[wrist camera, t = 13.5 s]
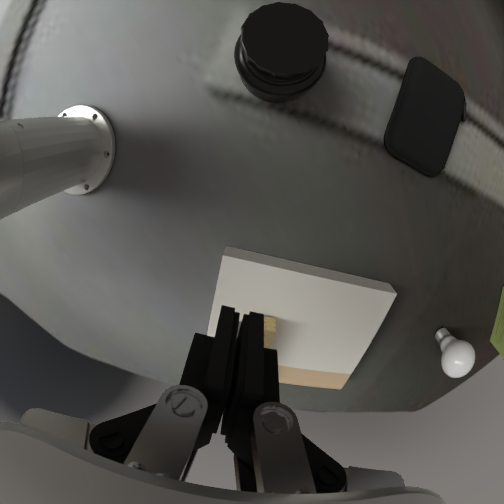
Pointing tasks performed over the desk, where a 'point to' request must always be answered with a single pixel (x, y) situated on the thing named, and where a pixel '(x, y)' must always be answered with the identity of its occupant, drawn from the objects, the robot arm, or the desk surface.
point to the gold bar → (269, 331)
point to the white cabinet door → (305, 313)
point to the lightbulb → (455, 354)
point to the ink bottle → (281, 52)
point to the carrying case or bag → (425, 117)
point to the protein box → (499, 328)
